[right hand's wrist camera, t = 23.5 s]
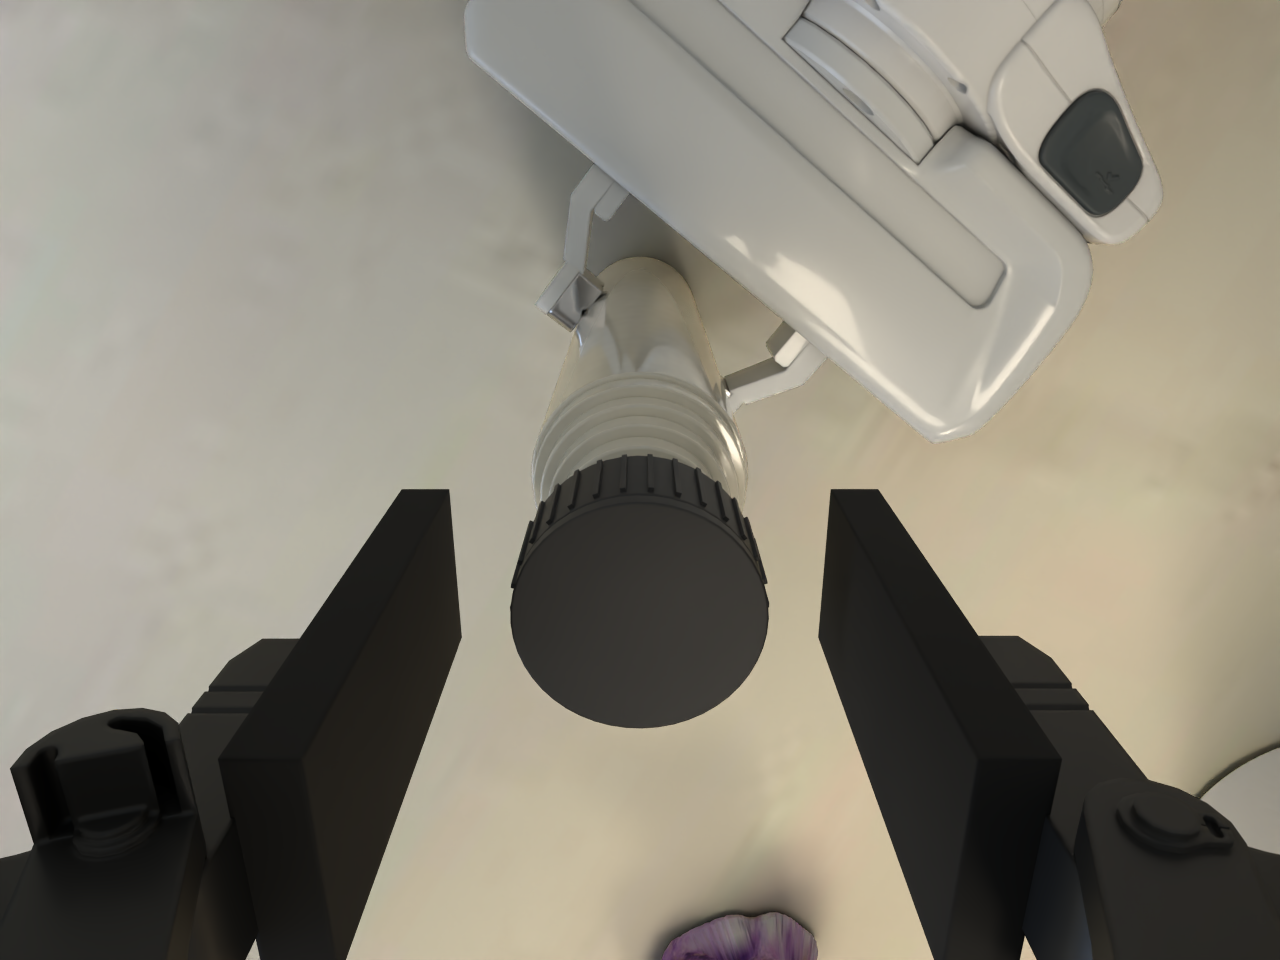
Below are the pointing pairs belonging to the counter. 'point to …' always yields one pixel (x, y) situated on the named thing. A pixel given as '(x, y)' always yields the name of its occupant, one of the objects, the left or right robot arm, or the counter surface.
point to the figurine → (745, 940)
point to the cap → (639, 593)
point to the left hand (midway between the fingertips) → (624, 371)
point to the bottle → (640, 385)
